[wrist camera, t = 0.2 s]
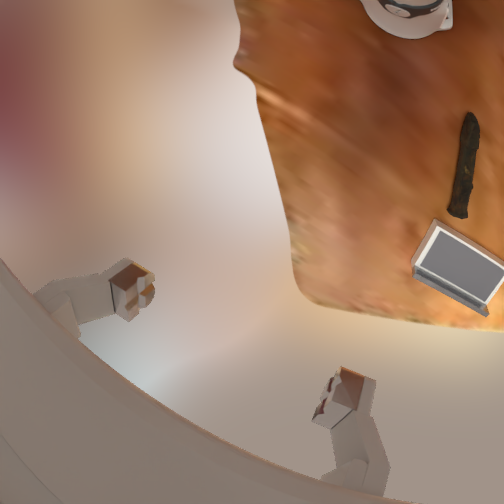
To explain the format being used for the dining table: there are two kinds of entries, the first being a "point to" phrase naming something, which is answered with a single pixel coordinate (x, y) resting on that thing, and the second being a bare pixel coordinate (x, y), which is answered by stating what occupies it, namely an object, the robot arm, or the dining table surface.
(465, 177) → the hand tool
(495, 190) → the dining table surface
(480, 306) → the grey open box
